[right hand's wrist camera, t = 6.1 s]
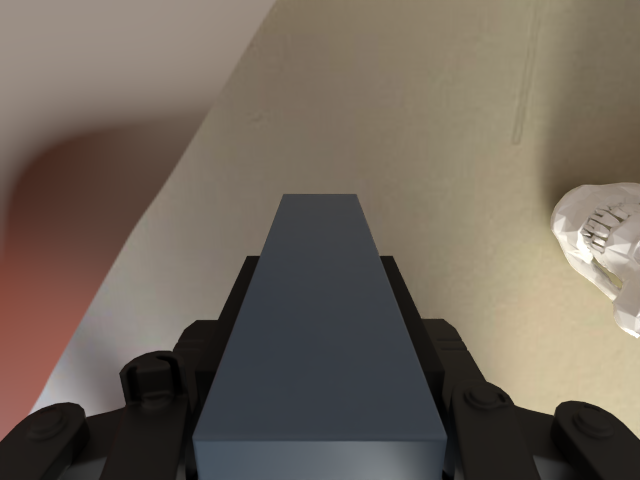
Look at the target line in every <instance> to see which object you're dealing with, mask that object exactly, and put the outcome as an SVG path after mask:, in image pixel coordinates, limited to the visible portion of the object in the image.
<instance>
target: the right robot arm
mask: <svg viewBox="0 0 640 480" xmlns="http://www.w3.org/2000/svg"><path fill="white" fill-rule="evenodd" d="M259 258H260V256H247V257H246V260H245V262H244V264H243V266H242V268H241V270H240V273H239V275H238V277H237V279H236V281H235V284H234V286H233V288H232V290H231V292H230V295H229V297H228V299H227V301H226V303H225V305H224V308H223V310H222V312H221V314H220V316H219V319H218V320H196V321H195V322H194V323H192V324H191V325H190V326H188V327H187V328H186V329H185V330H184V331H183V333H182V335H181V337H180V338H179V340H178V343H176V345H175V347H174V349H173V352H172V351H154V352H150V353H146V354H143V355H141V356H139V357H136V358H134V359H133V360H132V361H130V362H129V363H128V364H126V365H125V366H124V367H123V369H122V370H121V372H120V373H119V374H120V379H121V384H122V388H123V393H124V397H125V402H126V406H125V407H123V408H121V409H117V410H114V411H110V412H106V413H102V414H98V415H93V416H89V417H86V415H85V411H84V409H83V408H82V407H81V406H80V405H79V404H75V403H70V402H66V403H57V404H53V405H50V406H47V407H44V408H41V409H40V410H38V411H36V412H34V413H32V414H30V415H28V416H27V417H26V418H25V419H24V420H22V421H21V422H20V423H19V424H17V425H16V426H15V427H14V428H13V429H12V430H11V431H10V432H9V433H8V435H7V436H6V437H5V438H4V439H3V440H2V441H1V442H0V480H198V473H197V466H196V460H195V453H194V446H193V440H192V436H193V434H194V431H195V428H196V426H197V423H198V420H199V418H200V415H201V412H202V410H203V407H204V404H205V402H206V399H207V396H208V394H209V391H210V388H211V386H212V383H213V380H214V378H215V375H216V372H217V370H218V367H219V364H220V362H221V359H222V356H223V354H224V351H225V349H226V346H227V343H228V341H229V338H230V335H231V333H232V330H233V327H234V325H235V322H236V319H237V317H238V314H239V311H240V309H241V306H242V303H243V301H244V298H245V295H246V293H247V290H248V287H249V285H250V282H251V279H252V277H253V274H254V271H255V269H256V266H257V263H258V261H259ZM380 259H381V261H382V264H383V267H384V269H385V272H386V275H387V277H388V280H389V283H390V285H391V288H392V291H393V293H394V296H395V299H396V301H397V304H398V307H399V309H400V312H401V315H402V317H403V320H404V323H405V325H406V328H407V331H408V333H409V336H410V339H411V341H412V344H413V347H414V349H415V352H416V355H417V357H418V360H419V363H420V365H421V368H422V371H423V373H424V376H425V379H426V381H427V384H428V387H429V389H430V392H431V395H432V397H433V400H434V403H435V405H436V408H437V411H438V413H439V416H440V419H441V421H442V424H443V427H444V429H445V432H446V435H447V444H446V451H445V457H444V464H443V470H442V477H441V480H640V440H639V439H638V438H637V437H636V436H635V435H634V434H633V432H632V431H631V430H630V429H629V428H628V427H627V426H626V425H625V424H624V423H623V422H621V421H620V420H619V419H618V418H616V417H615V416H614V415H613V414H611V413H609V412H607V411H606V410H604V409H602V408H600V407H598V406H595V405H592V404H589V403H586V402H580V401H567V402H562V403H561V404H560V405H558V406H557V407H556V410H555V413H554V416H553V415H549V414H545V413H540V412H536V411H532V410H528V409H524V408H521V407H518V406H516V405H514V403H513V401H512V400H511V398H510V396H509V395H508V394H507V393H505V392H504V391H503V390H502V389H501V388H499V387H497V386H495V385H493V384H491V383H489V382H486V380H485V378H484V376H483V375H482V373H481V371H480V370H479V368H478V366H477V364H476V363H475V361H474V359H473V358H472V356H471V354H470V353H469V351H467V347H466V346H465V344H464V342H463V341H462V339H461V337H460V335H459V334H458V332H457V330H456V329H455V328H454V327H453V326H452V325H450V324H449V323H448V322H447V321H445V320H444V319H421V317H420V315H419V313H418V310H417V308H416V306H415V304H414V302H413V299H412V297H411V295H410V293H409V291H408V289H407V286H406V284H405V282H404V280H403V278H402V275H401V273H400V271H399V269H398V267H397V264H396V262H395V260H394V258H393V256H380Z"/></svg>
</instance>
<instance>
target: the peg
mask: <svg viewBox="0 0 640 480" xmlns="http://www.w3.org/2000/svg"><path fill="white" fill-rule="evenodd" d="M192 440H193V446H194V453H195V460H196V466H197V473H198V480H441V477H442V470H443V464H444V457H445V451H446V444H447V435H446V432H445V429H444V427H443V424H442V421H441V419H440V416H439V413H438V411H437V408H436V405H435V403H434V400H433V397H432V395H431V392H430V389H429V387H428V384H427V381H426V379H425V376H424V373H423V371H422V368H421V365H420V363H419V360H418V357H417V355H416V352H415V349H414V347H413V344H412V341H411V339H410V336H409V333H408V331H407V328H406V325H405V323H404V320H403V317H402V315H401V312H400V309H399V307H398V304H397V301H396V299H395V296H394V293H393V291H392V288H391V285H390V283H389V280H388V277H387V275H386V272H385V269H384V267H383V264H382V261H381V259H380V256H379V253H378V251H377V248H376V245H375V243H374V240H373V237H372V235H371V232H370V229H369V227H368V224H367V221H366V219H365V216H364V213H363V211H362V208H361V205H360V203H359V200H358V197H357V195H356V194H284V195H283V197H282V200H281V202H280V205H279V208H278V210H277V213H276V215H275V218H274V221H273V223H272V226H271V229H270V231H269V234H268V237H267V239H266V242H265V245H264V247H263V250H262V253H261V255H260V258H259V261H258V263H257V266H256V269H255V271H254V274H253V277H252V279H251V282H250V285H249V287H248V290H247V293H246V295H245V298H244V301H243V303H242V306H241V309H240V311H239V314H238V317H237V319H236V322H235V325H234V327H233V330H232V333H231V335H230V338H229V341H228V343H227V346H226V349H225V351H224V354H223V356H222V359H221V362H220V364H219V367H218V370H217V372H216V375H215V378H214V380H213V383H212V386H211V388H210V391H209V394H208V396H207V399H206V402H205V404H204V407H203V410H202V412H201V415H200V418H199V420H198V423H197V426H196V428H195V431H194V434H193V436H192Z"/></svg>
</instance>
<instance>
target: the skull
mask: <svg viewBox="0 0 640 480" xmlns="http://www.w3.org/2000/svg"><path fill="white" fill-rule="evenodd" d="M639 203H640V184H638V183H627V182H622V183H613V184H605V185H581V186H579V187H576V188H574V189H572V190H570V191H569V192H567V193H566V194H565V195H564V196H563V197H562V199H561V200H560V201H559V202H558V203H557V204H556V206H555V208H554V211H553V213H552V216H551V230H552V231H553V233H554V235H555V236H556V238H557V239H558V241H559V243H560V246H561V248H562V250H563V252H564V254H565V256H566V258H567V260H568V262H569V264H570V265H571V266H572V267H573V268H574V269H575V270H576V271H577V272H579V273H580V274H581V275H583V276H584V277H585V278H587V279H588V280H589V281H591V282H592V283H594V284H595V285H596V286H597V287H598V288H599V289H600V290H601V291H602V292H603V293H604V294H606V295H607V296H608V297H609V298H610V299H611V300H612V301H613V302H612V303H613V312H614V318H615V321H616V323H617V324H618V325H619V326H620V327H621V329H623V330H624V331H626V332H628V333H629V334H631V335H633V336H634V337H636V338H638V337H639V336H640V205H639ZM609 208H610V209H612V210H610V209H609ZM603 210H605V211H603ZM606 211H610V213H612V214H613V215H615V216H617V217H620V218H622V219H624V221H623V222H621V223H620V222H619V221H618V220H617V219H616V218H615V217H614V216H612V215H611V214H609V213H608V212H606ZM596 213H597V214H600V215H604V216H603V217H599V216H596V215H595V214H596ZM628 215H630V216H629V217H628ZM591 218H592V219H594V220H597V221H599V222H601V223H603V224H605V225H608V226H610V227H612V228H611V229H610V231H609V230H608V229H607V228H606V227H604V226H603V225H602V224H599V223H597V222H595V221H593V220H590V219H591ZM589 220H590V221H589ZM588 224H589V225H588ZM590 225H591V226H592V227H594V229H593V228H592V227H591V226H590ZM586 230H588V231H589V232H592V233H594V234H595V235H597V236H601V237H606V238H608V240H607V241H604V240H602V239H601V238H599V237H597V236H595V235H594V236H593V237H592V238H589V237H587V236H586V235H588V236H591V235H590V234H589V233H588V232H587V231H586ZM593 241H594V242H596V243H598V244H600V245H602V246H603V247H599V246H597V245H594V244H592V243H594V242H593ZM591 244H592V245H591ZM593 257H595V258H596V260H597V261H598V262H599V263H600V264H601V265H602V266H603V267H605V268H607V270H608V271H610V272H611V273H613V274H615V275H616V276H617V277H618V278H619V279H620V280H621V282H622V283H623V284H622V288H621V289H620V288H619V287H617V286H616V285H615V284H613V283H612V281H611V280H610V278H609V277H608V276H607V275H606V274H605V273H604V272H603V271H602V270H601V269H600V268H599V267H598V266H597V265H596V264H595V263H594V262H593V261H592V258H593Z"/></svg>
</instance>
